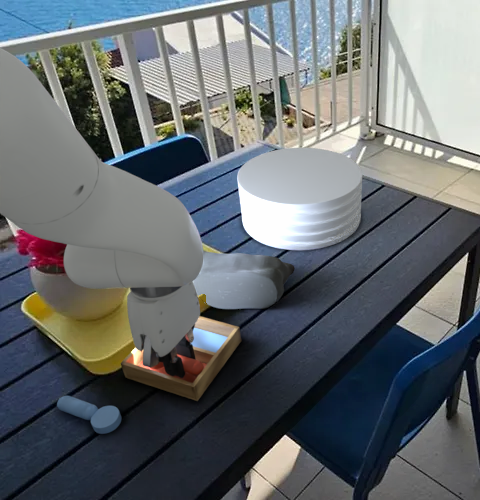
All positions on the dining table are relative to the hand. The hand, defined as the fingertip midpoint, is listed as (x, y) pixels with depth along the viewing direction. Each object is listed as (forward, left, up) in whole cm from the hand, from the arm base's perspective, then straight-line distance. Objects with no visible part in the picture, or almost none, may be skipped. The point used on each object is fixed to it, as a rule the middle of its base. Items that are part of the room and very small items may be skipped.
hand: (181, 366), depth 78 cm
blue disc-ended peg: (-11, +9, -2) cm, 14 cm away
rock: (+22, +2, -2) cm, 22 cm away
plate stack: (+51, +2, -2) cm, 51 cm away
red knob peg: (0, +1, 0) cm, 1 cm away
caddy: (+3, +2, -2) cm, 4 cm away
